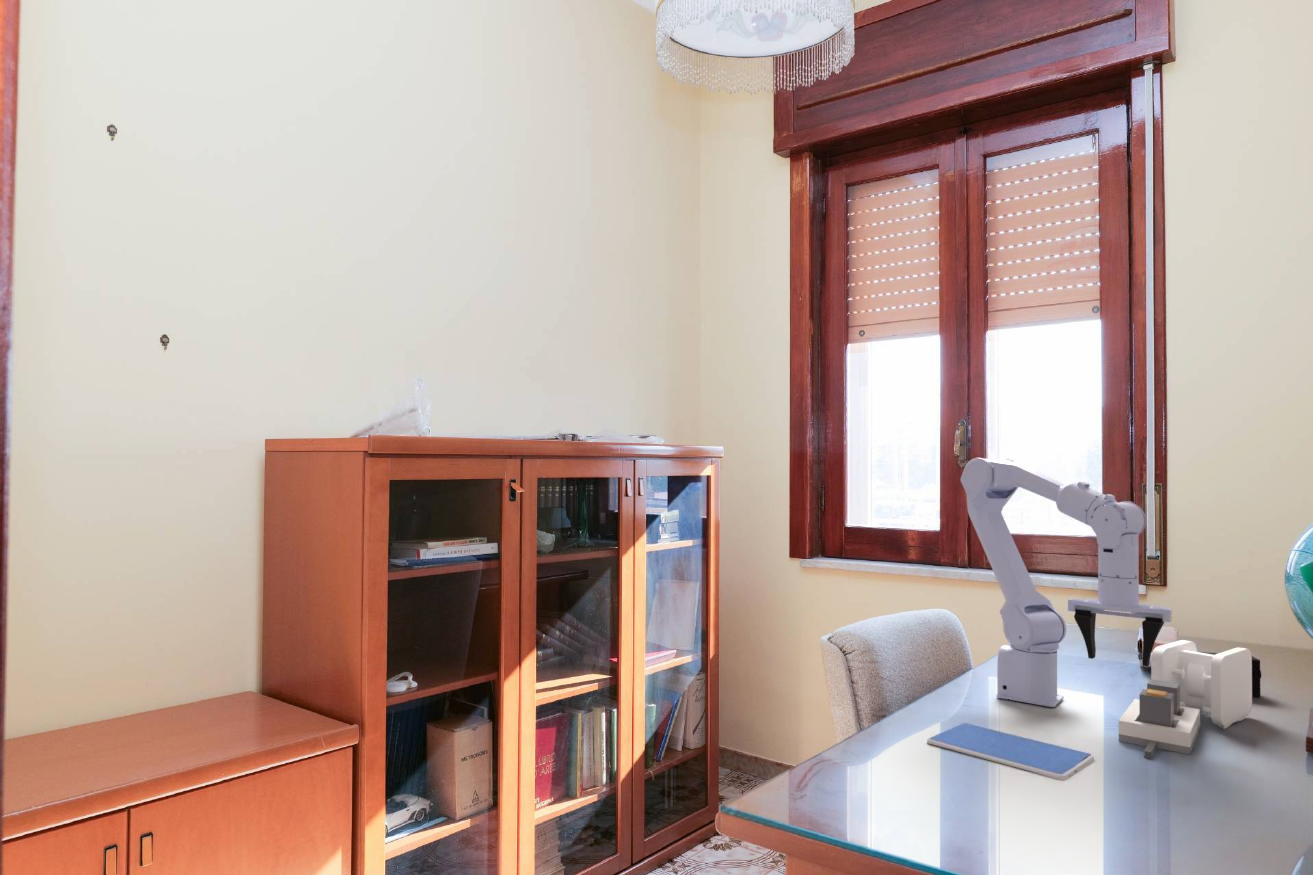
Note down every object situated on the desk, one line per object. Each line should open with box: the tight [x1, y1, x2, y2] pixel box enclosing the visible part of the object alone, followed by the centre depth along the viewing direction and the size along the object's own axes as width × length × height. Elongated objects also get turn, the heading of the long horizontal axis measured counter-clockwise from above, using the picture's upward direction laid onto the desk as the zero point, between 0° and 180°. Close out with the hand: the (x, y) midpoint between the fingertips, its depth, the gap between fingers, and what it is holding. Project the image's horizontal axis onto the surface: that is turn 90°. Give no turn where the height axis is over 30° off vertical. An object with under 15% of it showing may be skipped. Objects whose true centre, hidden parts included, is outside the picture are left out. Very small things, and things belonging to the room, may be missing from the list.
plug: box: [1138, 688, 1174, 728], centre depth 123 cm, size 4×4×6 cm
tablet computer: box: [926, 722, 1095, 781], centre depth 117 cm, size 19×13×1 cm, turn 44°
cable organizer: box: [1150, 639, 1253, 729], centre depth 137 cm, size 15×11×12 cm
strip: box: [1118, 679, 1201, 760], centre depth 124 cm, size 22×9×7 cm, turn 142°
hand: (1118, 661), depth 132 cm, fingers open, 7 cm apart
